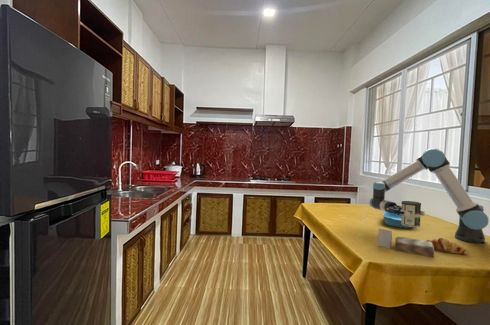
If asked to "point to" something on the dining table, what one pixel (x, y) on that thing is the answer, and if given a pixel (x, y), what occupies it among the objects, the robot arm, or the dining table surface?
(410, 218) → the coffee can
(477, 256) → the dining table surface
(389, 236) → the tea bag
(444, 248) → the croissant
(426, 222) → the dining table surface
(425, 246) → the stand
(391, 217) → the casserole dish
